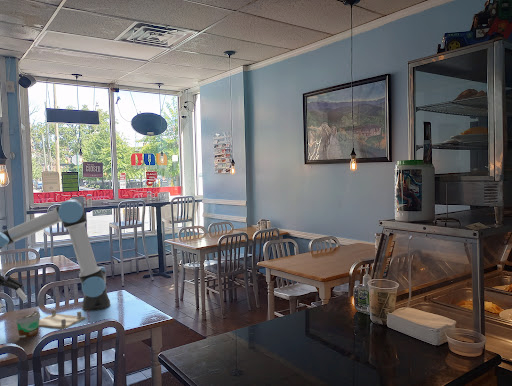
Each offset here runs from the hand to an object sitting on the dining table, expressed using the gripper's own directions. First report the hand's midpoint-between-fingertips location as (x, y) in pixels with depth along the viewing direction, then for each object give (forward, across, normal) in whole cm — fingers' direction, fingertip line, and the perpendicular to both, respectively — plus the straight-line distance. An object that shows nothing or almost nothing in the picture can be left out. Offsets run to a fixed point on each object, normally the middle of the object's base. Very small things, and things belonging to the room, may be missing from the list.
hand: (13, 303), depth 196 cm
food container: (+18, 0, -3) cm, 18 cm away
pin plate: (+17, -18, -4) cm, 25 cm away
